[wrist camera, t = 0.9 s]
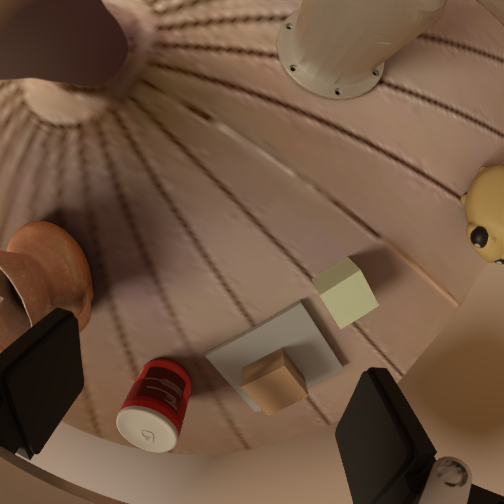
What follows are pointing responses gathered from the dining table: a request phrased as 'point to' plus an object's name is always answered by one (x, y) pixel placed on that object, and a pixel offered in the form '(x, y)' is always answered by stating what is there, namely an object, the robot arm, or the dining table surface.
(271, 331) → the plate
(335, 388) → the dining table surface
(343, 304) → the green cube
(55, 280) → the ceramic jug
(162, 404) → the canned food
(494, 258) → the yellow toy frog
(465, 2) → the dining table surface
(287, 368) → the walnut brick
